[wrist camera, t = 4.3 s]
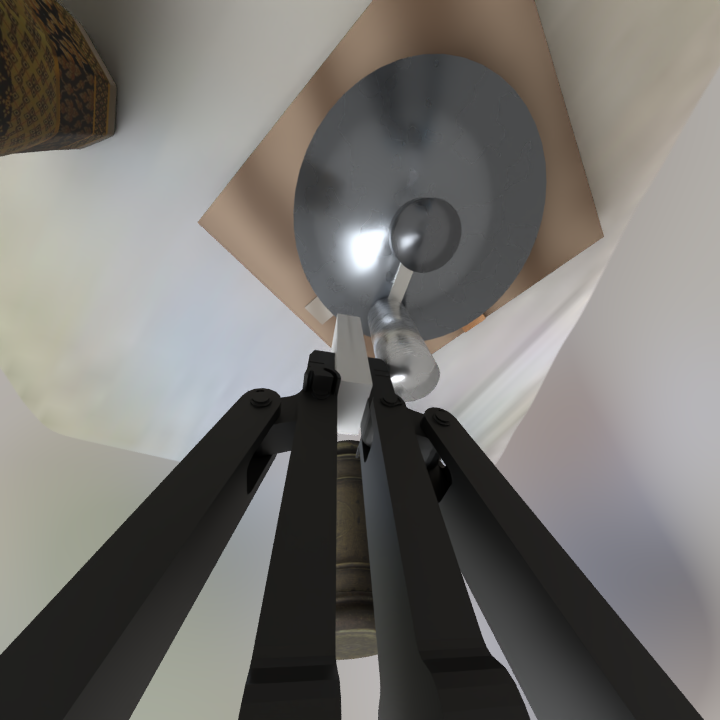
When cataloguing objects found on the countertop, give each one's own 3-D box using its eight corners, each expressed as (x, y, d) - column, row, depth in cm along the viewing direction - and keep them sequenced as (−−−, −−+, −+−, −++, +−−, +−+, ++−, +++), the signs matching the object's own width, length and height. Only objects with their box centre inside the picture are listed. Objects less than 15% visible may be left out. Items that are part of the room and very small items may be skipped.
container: (305, 472, 38) (280, 660, 22) (329, 431, 34) (318, 627, 18) (362, 486, 40) (374, 664, 25) (390, 448, 36) (426, 634, 21)
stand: (463, -87, 14) (494, -157, 11) (574, 232, 23) (607, 237, 20) (215, 219, 21) (195, 222, 18) (374, 374, 29) (377, 393, 27)
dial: (328, 11, 13) (303, -311, 5) (579, 135, 17) (829, 70, 8) (281, 304, 21) (241, 377, 13) (457, 350, 24) (519, 432, 16)
